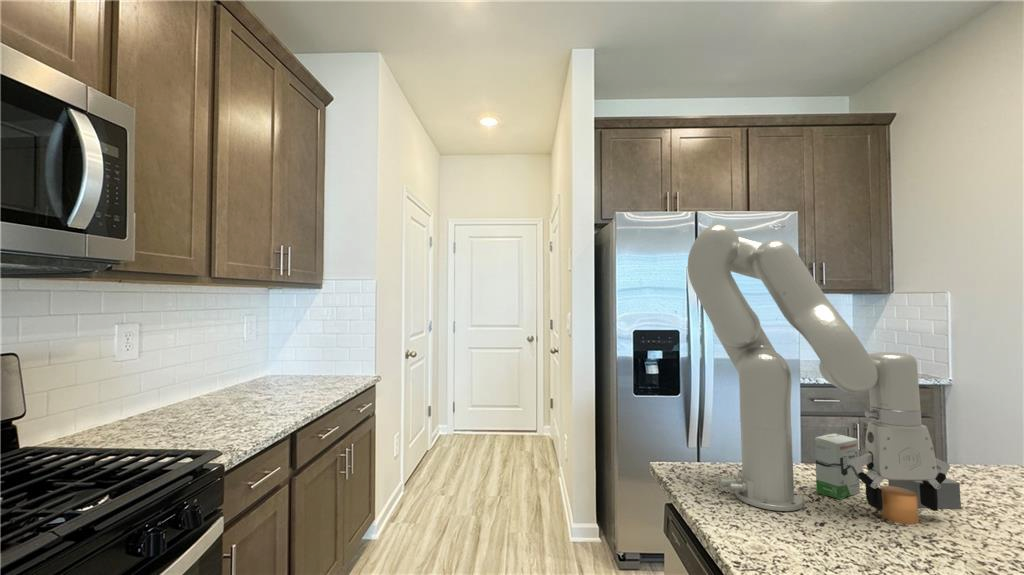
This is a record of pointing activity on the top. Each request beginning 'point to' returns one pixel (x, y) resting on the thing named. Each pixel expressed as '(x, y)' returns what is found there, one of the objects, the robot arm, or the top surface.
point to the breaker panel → (945, 494)
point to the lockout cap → (899, 505)
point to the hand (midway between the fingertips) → (902, 507)
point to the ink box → (836, 465)
